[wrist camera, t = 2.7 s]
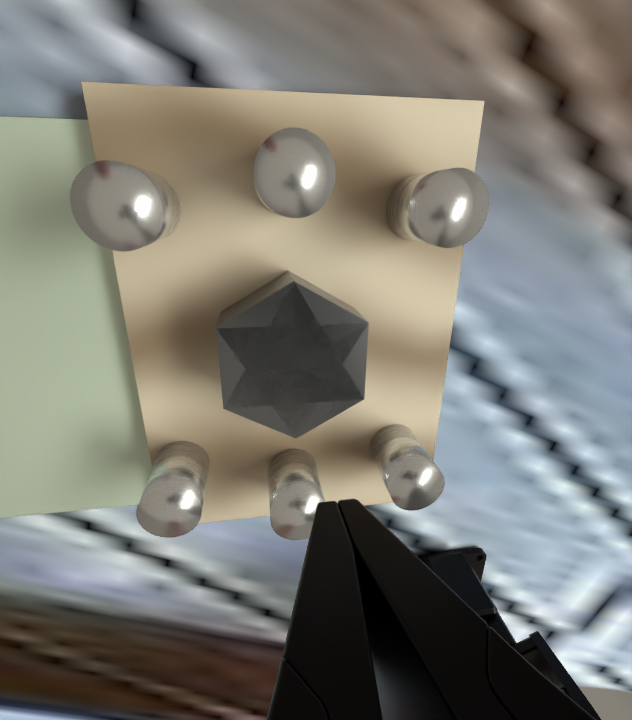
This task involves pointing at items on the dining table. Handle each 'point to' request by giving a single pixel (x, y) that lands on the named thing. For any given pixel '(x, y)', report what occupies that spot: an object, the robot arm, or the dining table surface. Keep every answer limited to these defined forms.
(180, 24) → the dining table surface
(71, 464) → the mat
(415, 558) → the robot arm
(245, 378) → the dark grey hexagonal block
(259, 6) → the dining table surface
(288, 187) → the steel spacers
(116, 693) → the dining table surface
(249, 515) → the board
